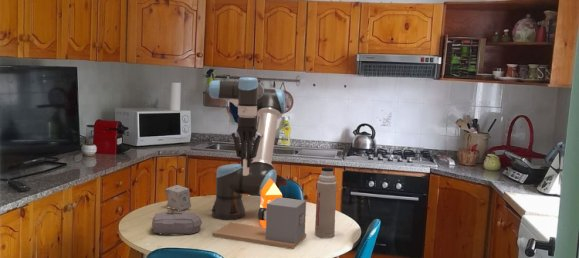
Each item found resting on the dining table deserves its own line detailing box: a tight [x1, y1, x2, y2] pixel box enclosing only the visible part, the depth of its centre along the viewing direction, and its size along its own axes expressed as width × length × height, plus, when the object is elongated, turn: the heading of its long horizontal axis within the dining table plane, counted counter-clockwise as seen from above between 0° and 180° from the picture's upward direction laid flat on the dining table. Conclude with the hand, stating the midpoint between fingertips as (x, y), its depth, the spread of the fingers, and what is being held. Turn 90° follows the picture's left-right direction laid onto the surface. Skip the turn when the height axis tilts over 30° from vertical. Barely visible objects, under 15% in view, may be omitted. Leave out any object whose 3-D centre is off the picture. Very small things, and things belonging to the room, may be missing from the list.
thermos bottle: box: [314, 166, 338, 239], centre depth 217 cm, size 8×8×28 cm
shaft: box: [257, 207, 306, 224], centre depth 209 cm, size 18×5×5 cm, turn 70°
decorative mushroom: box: [275, 174, 288, 192], centre depth 263 cm, size 11×11×15 cm
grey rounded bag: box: [151, 209, 203, 235], centre depth 217 cm, size 15×8×20 cm
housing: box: [212, 197, 307, 250], centre depth 212 cm, size 34×16×16 cm, turn 70°
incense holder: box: [164, 184, 192, 211], centre depth 249 cm, size 10×8×10 cm
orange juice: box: [259, 179, 283, 227], centre depth 228 cm, size 8×9×20 cm
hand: (245, 174), depth 213 cm, fingers closed
